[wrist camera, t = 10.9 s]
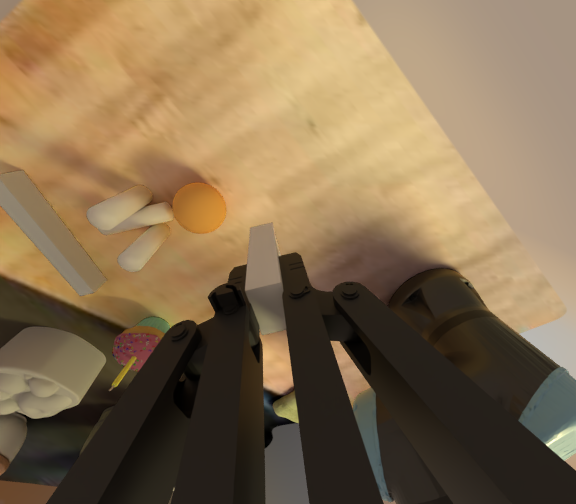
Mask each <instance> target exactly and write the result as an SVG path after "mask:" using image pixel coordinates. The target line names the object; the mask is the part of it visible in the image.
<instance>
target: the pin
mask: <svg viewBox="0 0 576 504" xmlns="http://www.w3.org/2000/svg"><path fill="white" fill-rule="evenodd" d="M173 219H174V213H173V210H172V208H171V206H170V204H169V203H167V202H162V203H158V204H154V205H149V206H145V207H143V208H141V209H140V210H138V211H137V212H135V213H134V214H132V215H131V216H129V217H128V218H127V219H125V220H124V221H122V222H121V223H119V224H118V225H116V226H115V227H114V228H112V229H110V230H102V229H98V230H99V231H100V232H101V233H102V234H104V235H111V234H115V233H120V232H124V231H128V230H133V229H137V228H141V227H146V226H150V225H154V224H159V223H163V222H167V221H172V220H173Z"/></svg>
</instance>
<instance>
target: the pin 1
mask: <svg viewBox="0 0 576 504" xmlns="http://www.w3.org/2000/svg"><path fill="white" fill-rule="evenodd" d="M151 201H152V193H151V191H150V190H149V189H148V188H147V187H145V186H142V185H136V186H134V187H132V188H130V189H128V190H126V191H124V192H121V193H119V194H117V195H115V196H113V197H111V198H109V199H107V200H105V201H103V202H100V203H98V204H96V205H94V206H92V207H90V208H89V209H88V210H87V218H88V220H89V222H90V223H91V224H92V225H93V226H95V227H96V228H98V229H102V230H110V229H112V228H114V227H115V226H116V225H118V224H119V223H121V222H122V221H124V220H125V219H127V218H128V217H129V216H131V215H132V214H134V213H135V212H137V211H138V210H140V209H141V208H143V207H144V206H145V205H147V204H148V203H150V202H151Z"/></svg>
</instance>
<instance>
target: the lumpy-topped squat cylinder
mask: <svg viewBox="0 0 576 504" xmlns="http://www.w3.org/2000/svg"><path fill="white" fill-rule="evenodd" d="M105 363H106V358H105V356H104V354H103V353H102V352H100V351H99V350H98V349H97V348H95V347H94V346H93V345H91V344H90V343H88V342H87V341H85V340H84V339H82V338H80V337H79V336H77V335H75V334H72V333H70V332H66V331H63V330H59V329H55V328H50V327H28V328H25V329H23V330H22V331H21V332H19V333H18V334H17V335H16V336H15V337H14V338H12V339H11V340H10V341H9V342H8V343H7V344H5V345H4V346H3V347H2V348H1V349H0V415H7V414H10V413H13V412H15V411H17V412H19V413H22V414H25V415H26V416H28V417H30V418H34V419H38V418H43V417H50V416H53V415H55V414H57V413H58V412H60V411H62V410H64V409H67V408H71V407H74V406H76V405H78V404H79V403H80V401H81V400H82V398H83V397H84V395H85V394H86V392H87V391H88V389H89V388H90V386H91V384H92V383H93V381H94V380H95V378H96V377H97V375H98V374H99V372H100V371H101V369H102V368H103V366H104V364H105Z"/></svg>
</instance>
